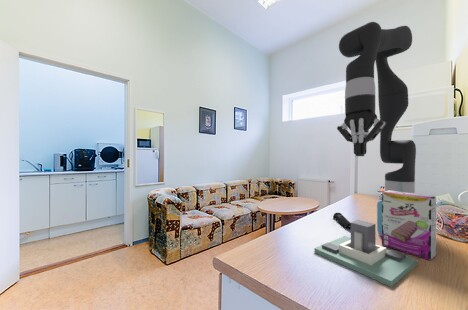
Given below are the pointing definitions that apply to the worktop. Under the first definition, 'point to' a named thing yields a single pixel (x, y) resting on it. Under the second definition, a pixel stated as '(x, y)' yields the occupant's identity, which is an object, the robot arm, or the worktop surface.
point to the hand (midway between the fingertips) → (359, 156)
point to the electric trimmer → (342, 220)
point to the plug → (363, 236)
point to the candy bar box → (409, 223)
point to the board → (369, 260)
